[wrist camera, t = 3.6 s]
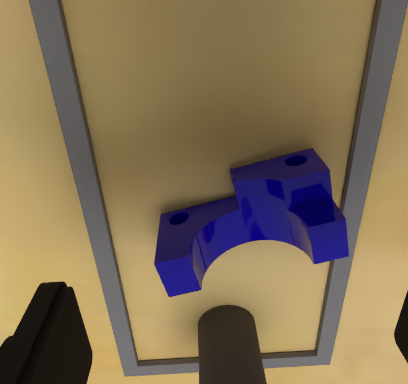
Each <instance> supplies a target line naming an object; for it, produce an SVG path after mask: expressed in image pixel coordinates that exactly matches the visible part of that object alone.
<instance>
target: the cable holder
mask: <svg viewBox="0 0 408 384" xmlns="http://www.w3.org/2000/svg"><path fill="white" fill-rule="evenodd" d="M230 173H231V177H232V182H233V185H234V189H235V193H236V196H232V197H228V198H224V199H220V200H216V201H212V202H208V203H204V204H200V205H196V206H192V207H189V208H185V209H181V210H177V211H173V212H169V213H165V214H161V216H160V224H159V231H158V239H157V247H156V254H155V262H154V265H155V267H156V269H157V272H158V274H159V276H160V278H161V280H162V283H163V285H164V287H165V289H166V292H167V294H168V296H169V297H172V296H177V295H181V294H185V293H190V292H194V291H199V290H201V287H202V280H203V277H204V275H205V272H206V271H207V269H208V267H209V266H210V265H211V264H212V262H213V261H214V260H215V259H216V258H217V257H219V256H220V255H221V254H223V253H224V252H226V251H227V250H229V249H231V248H233V247H235V246H237V245H240V244H243V243H246V242H251V241H256V240H276V241H282V242H286V243H289V244H292V245H294V246H296V247H298V248H299V249H301V250H302V251H304V252H305V253H306V254H307V255H308V256H309V257H310V259H311V260H312V262H313V264H318V263H322V262H327V261H331V260H335V259H340V258H344V257H349V248H348V237H347V225H346V218H345V217H344V215H343V214H342V212H341V211H340V209H339V208H338V206H337V205H336V204H335V202H334V201H333V198H332V189H331V179H330V170H329V168H328V167H327V166H326V164H325V163H324V162H323V161H322V159H321V158H320V157H319V156H318V154H317V153H316V152H315V151H314V149H313V148H311V149H307V150H303V151H299V152H296V153H292V154H288V155H284V156H280V157H276V158H272V159H269V160H265V161H261V162H257V163H253V164H249V165H245V166H242V167H238V168H234V169H230Z"/></svg>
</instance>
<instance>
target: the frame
mask: <svg viewBox="0 0 408 384" xmlns="http://www.w3.org/2000/svg"><path fill="white" fill-rule="evenodd" d="M29 3H30V7H31V11H32V14H33V18H34V22H35V26H36V30H37V34H38V38H39V42H40V46H41V50H42V54H43V58H44V62H45V66H46V69H47V73H48V77H49V81H50V85H51V89H52V93H53V97H54V101H55V105H56V109H57V113H58V117H59V121H60V124H61V128H62V132H63V136H64V140H65V144H66V148H67V152H68V156H69V160H70V164H71V168H72V172H73V175H74V179H75V183H76V187H77V191H78V195H79V199H80V203H81V207H82V211H83V215H84V219H85V223H86V227H87V230H88V234H89V238H90V242H91V246H92V250H93V254H94V258H95V262H96V266H97V270H98V274H99V278H100V282H101V285H102V289H103V293H104V297H105V301H106V305H107V309H108V313H109V317H110V321H111V325H112V329H113V333H114V337H115V340H116V344H117V348H118V352H119V356H120V360H121V364H122V368H123V372H124V376H125V377H126V376H143V375H160V374H177V373H194V372H199V358H182V359H165V360H148V361H138V358H137V353H136V349H135V344H134V339H133V335H132V330H131V325H130V321H129V316H128V312H127V307H126V302H125V298H124V293H123V288H122V284H121V279H120V274H119V270H118V265H117V261H116V256H115V251H114V247H113V242H112V237H111V233H110V228H109V223H108V219H107V214H106V209H105V205H104V200H103V196H102V191H101V186H100V182H99V177H98V172H97V168H96V163H95V158H94V154H93V149H92V145H91V140H90V135H89V131H88V126H87V121H86V117H85V112H84V107H83V103H82V98H81V94H80V89H79V84H78V80H77V75H76V70H75V66H74V61H73V56H72V52H71V47H70V42H69V38H68V33H67V29H66V24H65V19H64V15H63V10H62V5H61V1H60V0H29ZM407 4H408V0H377V4H376V9H375V15H374V21H373V26H372V32H371V38H370V43H369V49H368V55H367V60H366V66H365V72H364V77H363V83H362V89H361V94H360V100H359V106H358V111H357V117H356V123H355V128H354V134H353V140H352V145H351V151H350V157H349V162H348V168H347V173H346V179H345V185H344V190H343V196H342V202H341V207H340V211H341V212H342V214H343V215H344V217H345V218H346V225H347V237H348V248H349V257H344V258H340V259H335V260H331V264H330V270H329V275H328V281H327V287H326V292H325V298H324V304H323V309H322V315H321V321H320V326H319V332H318V338H317V343H316V349H315V351H302V352H284V353H267V354H261V357H262V363H263V368H279V367H296V366H313V365H330V362H331V357H332V353H333V348H334V343H335V339H336V334H337V329H338V325H339V320H340V315H341V311H342V306H343V301H344V297H345V292H346V288H347V283H348V278H349V274H350V269H351V264H352V260H353V255H354V250H355V246H356V241H357V236H358V232H359V227H360V223H361V218H362V213H363V209H364V204H365V199H366V195H367V190H368V185H369V181H370V176H371V171H372V167H373V162H374V158H375V153H376V148H377V144H378V139H379V134H380V130H381V125H382V120H383V116H384V111H385V106H386V102H387V97H388V93H389V88H390V83H391V79H392V74H393V69H394V65H395V60H396V55H397V51H398V46H399V41H400V37H401V32H402V28H403V23H404V18H405V14H406V9H407Z"/></svg>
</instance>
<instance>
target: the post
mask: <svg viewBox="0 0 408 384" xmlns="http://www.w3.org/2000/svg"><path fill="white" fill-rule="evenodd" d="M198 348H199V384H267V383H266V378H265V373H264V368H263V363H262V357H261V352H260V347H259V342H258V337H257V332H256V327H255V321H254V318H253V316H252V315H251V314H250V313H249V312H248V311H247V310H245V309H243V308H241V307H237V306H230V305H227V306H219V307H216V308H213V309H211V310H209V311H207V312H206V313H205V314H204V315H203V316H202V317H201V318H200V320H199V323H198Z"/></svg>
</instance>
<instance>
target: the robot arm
mask: <svg viewBox="0 0 408 384" xmlns="http://www.w3.org/2000/svg"><path fill="white" fill-rule="evenodd" d="M394 337H395V341H396V344H397V346H398V348H399V349H400V351H401V353H402V354H403V356H404V358H405V359H406V361H407V363H408V291H407V294H406V297H405V300H404V303H403V307H402V310H401V313H400V316H399V319H398V322H397V325H396V328H395V332H394ZM91 365H92V349H91V346H90V343H89V339H88V336H87V333H86V329H85V326H84V323H83V319H82V316H81V313H80V310H79V306H78V303H77V300H76V296H75V293H74V290H73V288H72V287H67V285H66V283H65V282H48V283H41V284H40V285H39V287H38V288H37V290H36V292H35V294H34V296H33V298H32V300H31V302H30V304H29V306H28V308H27V310H26V311H25V313H24V315H23V317H22V319H21V321H20V323H19V325H18V327H17V329H16V331H15V333H14V335H13V336H9V337H8V338H7V339H6V340H5V341H4V342H3V344H2V345H1V347H0V384H87V380H88V376H89V372H90V369H91Z"/></svg>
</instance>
